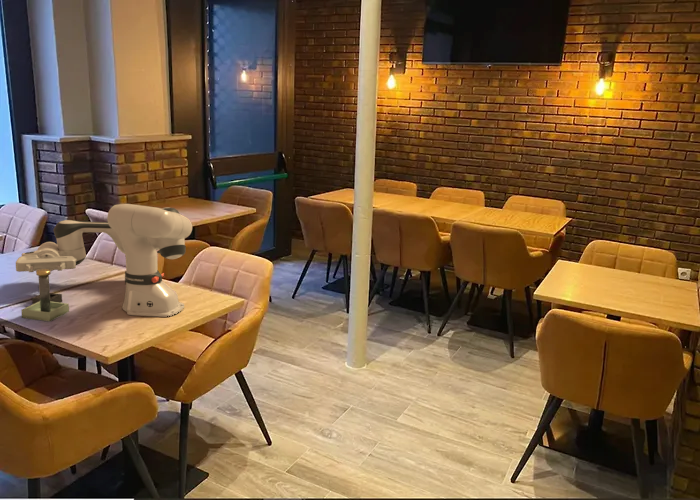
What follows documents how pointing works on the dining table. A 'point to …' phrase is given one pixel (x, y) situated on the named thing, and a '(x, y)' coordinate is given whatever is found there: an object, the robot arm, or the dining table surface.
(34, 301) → the pin collar
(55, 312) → the tray
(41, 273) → the lock pin
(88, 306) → the dining table surface
